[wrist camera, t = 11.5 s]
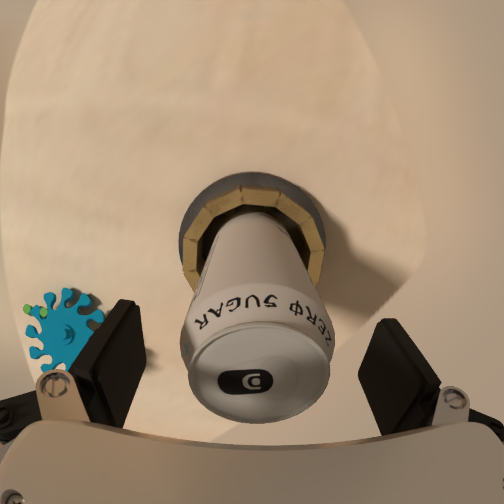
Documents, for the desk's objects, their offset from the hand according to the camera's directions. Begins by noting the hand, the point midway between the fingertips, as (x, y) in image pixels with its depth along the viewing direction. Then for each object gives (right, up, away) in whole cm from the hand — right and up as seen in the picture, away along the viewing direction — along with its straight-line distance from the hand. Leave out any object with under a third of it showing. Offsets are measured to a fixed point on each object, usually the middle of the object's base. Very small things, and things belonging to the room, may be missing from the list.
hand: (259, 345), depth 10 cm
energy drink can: (0, +4, +13) cm, 14 cm away
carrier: (0, +4, +14) cm, 15 cm away
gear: (-20, -3, +17) cm, 26 cm away
